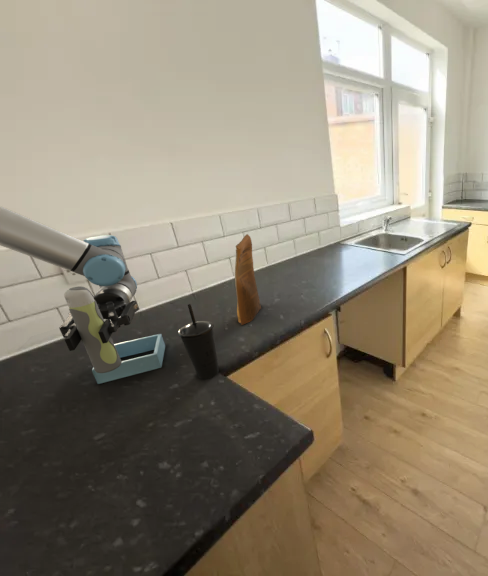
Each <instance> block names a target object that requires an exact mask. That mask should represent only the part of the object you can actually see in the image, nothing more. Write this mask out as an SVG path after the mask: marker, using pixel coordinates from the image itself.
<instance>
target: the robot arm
mask: <svg viewBox="0 0 488 576" xmlns="http://www.w3.org/2000/svg"><path fill="white" fill-rule="evenodd" d="M0 246H1V247H3V248H6V249H9V250H11V251H14V252H16V253H17V252H18V253H19V254H23V255H25V256H29V257H31V258H34V259H37V260H39V261H43V262H45V263H48V264H50V265H54V266H55V267H59V268H61V269H64V270H67V271H70V272H72V273H75V274H77V275H80V276H83V277H84V278H85V279H86V280H87V281H88V282H90V283H91V284H93V285H96V286H99V289H98V290H97V291H96V293H95V294H93V296H94V300H95V301H96V303H97V305H98V308H99V310H100V312H101V315H102V317H103V319H104V323H103V325H102V327H101V329H100V330H99V332H98V333H99V336H100V338H101V340H102V343H103V344H104V343H107V342H108V340H109V338H110V336H111V337H112V334H113V333H116V332H117V331H118V330H119V328H121V326H122V325H124V326H129V325H131V324H132V321H133V319H134V316H135V315H136V313H137V312H138V311H139V310H140V307H139V305H138V304H139V303H138V302H137V300H132V298H133V297H134V296H135V295H136V293H137V289H138V283H137V280H136V279H135V278H134V276H132V275H131V272H130V270H129V268H128V264H127V262H126V258H125V255H124V252H123V249H122V245H121V244H120V242H119V240H118V237H117V236H115V235H111V234H104V235H97V236H96V235H95V236H91V237H86V238H84V239H83V240H82V239H79V238H77V237H75V236H73V235H70V234H68V233H65V232H63V231H61V230H59V229H56V228H53V227H51V226H49V225H46V224H44V223H41V222H39V221H37V220H34V219H32V218H30V217H28V216H26V215H23V214H20V213H18V212H16V211H13V210H11V209H8V208H7V207H4V206H3V205H0ZM58 329H59V331H60V334H61V335H62V338H63V340H64V342H65V344H66V346H67V348H68V350H69V352H73V351H75V350H76V349H77V348H78V346H79V345H80V343H81V342H82V339H81V336H80V334H79V332H78V329H77V327H76V325H75V322H74V320H73V318H72V315H71V313H70V312H68V316H67V317H66V319H65V320H64V321H63V323H62V324H60V326H59V327H58Z"/></svg>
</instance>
